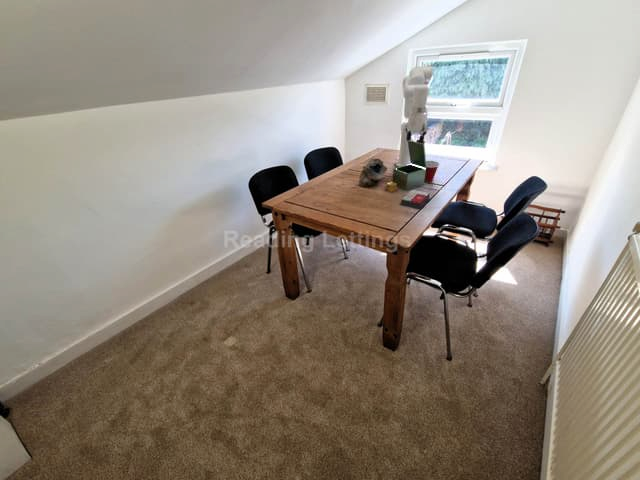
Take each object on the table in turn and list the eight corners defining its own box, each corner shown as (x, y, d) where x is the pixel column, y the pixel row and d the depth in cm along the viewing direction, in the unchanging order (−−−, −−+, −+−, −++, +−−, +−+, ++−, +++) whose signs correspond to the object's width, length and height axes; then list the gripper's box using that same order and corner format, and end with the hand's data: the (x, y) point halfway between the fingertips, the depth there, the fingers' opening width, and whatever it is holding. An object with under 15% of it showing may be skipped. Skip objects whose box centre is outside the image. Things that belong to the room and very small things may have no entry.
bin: (406, 190, 176) (408, 174, 170) (391, 184, 185) (393, 168, 179) (423, 185, 182) (426, 168, 177) (409, 179, 192) (411, 163, 186)
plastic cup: (418, 182, 186) (420, 164, 180) (420, 177, 194) (423, 159, 188) (435, 184, 182) (438, 166, 175) (437, 179, 190) (440, 161, 184)
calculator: (401, 198, 158) (411, 188, 167) (400, 205, 160) (411, 195, 170) (420, 203, 152) (430, 192, 162) (419, 210, 154) (429, 198, 164)
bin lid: (423, 144, 166) (429, 140, 167) (407, 140, 175) (413, 136, 176) (425, 168, 176) (431, 164, 177) (410, 163, 186) (416, 159, 187)
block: (385, 190, 179) (386, 183, 176) (391, 188, 180) (391, 181, 178) (390, 192, 175) (391, 185, 173) (396, 190, 177) (396, 183, 175)
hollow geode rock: (379, 180, 205) (367, 163, 205) (393, 170, 196) (380, 153, 196) (361, 193, 186) (348, 174, 185) (375, 182, 176) (361, 163, 176)
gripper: (402, 109, 165) (399, 140, 174) (426, 112, 152) (421, 144, 161) (411, 108, 168) (408, 138, 177) (435, 110, 156) (430, 142, 164)
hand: (414, 141), depth 169 cm, fingers open, 9 cm apart
